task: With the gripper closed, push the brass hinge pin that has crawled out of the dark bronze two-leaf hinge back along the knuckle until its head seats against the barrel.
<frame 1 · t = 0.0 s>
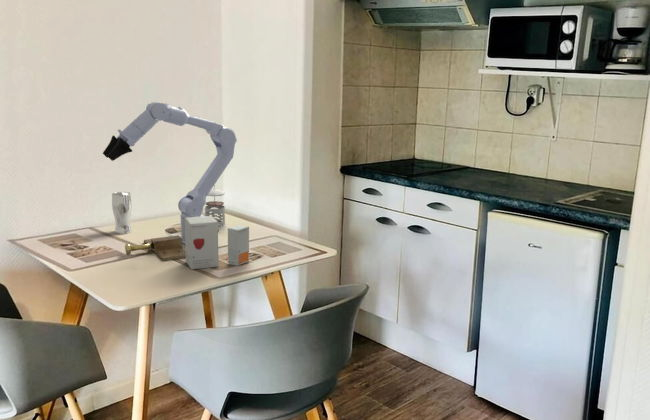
hand: (107, 157, 196), 32 cm above the table, tool tilted 50°, fingers open, 7 cm apart
french press: (213, 227, 237), on the table
hinge: (166, 249, 206), on the table
beer glass: (123, 232, 227), on the table
skincare box: (238, 263, 193), on the table
supplement box: (202, 264, 191), on the table
pin: (142, 247, 201), point 2 cm above the table, slide at 7.0 cm
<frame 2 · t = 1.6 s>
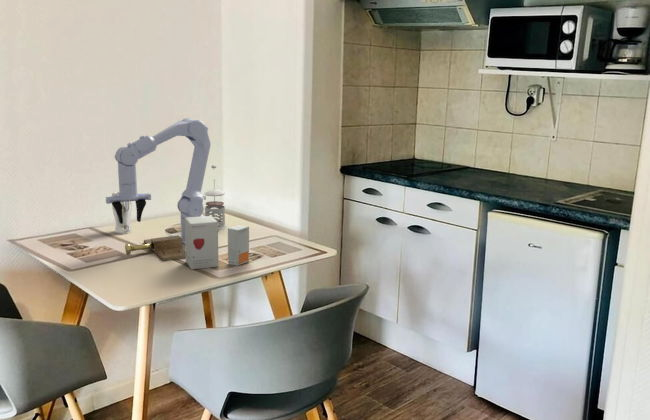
hand: (130, 222, 202), 10 cm above the table, tool pointing down, fingers open, 5 cm apart
nothing on the table moved.
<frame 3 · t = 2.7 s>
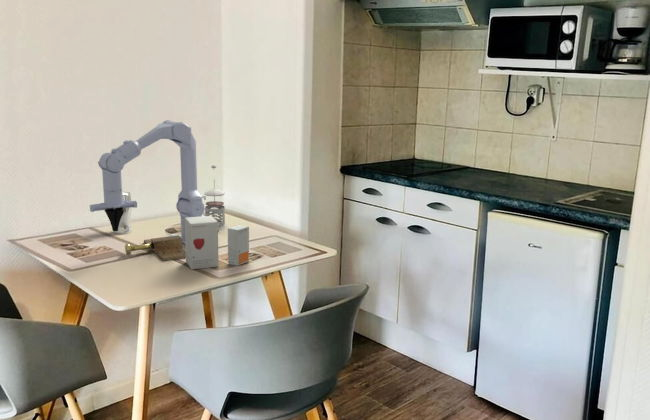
hand: (115, 230, 195), 9 cm above the table, tool pointing down, fingers closed
nothing on the table moved.
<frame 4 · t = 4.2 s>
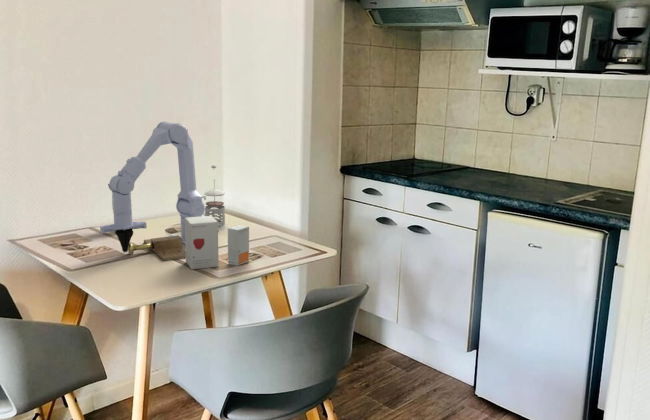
hand: (125, 251, 198), 1 cm above the table, tool pointing down, fingers closed
pin: (144, 246, 202), point 2 cm above the table, slide at 6.1 cm, touching gripper
everything else where it was.
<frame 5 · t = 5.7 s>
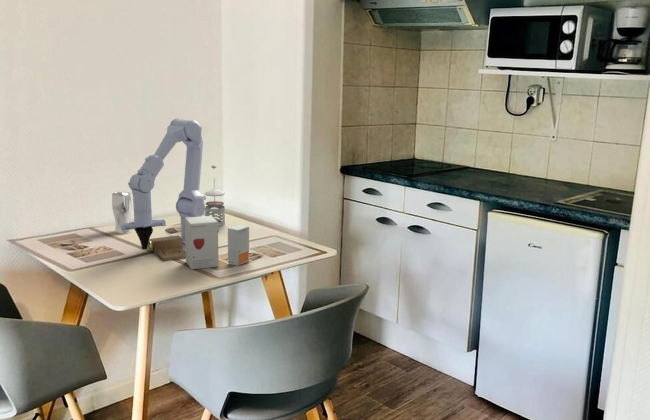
hand: (144, 248, 202), 1 cm above the table, tool pointing down, fingers closed
pin: (163, 244, 205), point 2 cm above the table, slide at -0.3 cm, touching gripper
everything else where it was.
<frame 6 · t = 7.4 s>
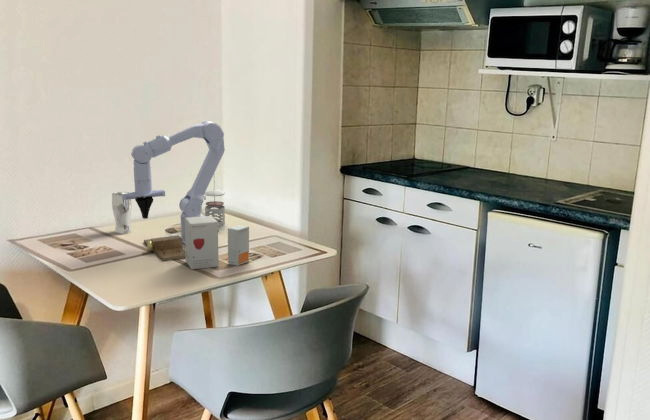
hand: (145, 218, 209), 10 cm above the table, tool pointing down, fingers closed
pin: (163, 244, 205), point 2 cm above the table, slide at -0.3 cm
everything else where it was.
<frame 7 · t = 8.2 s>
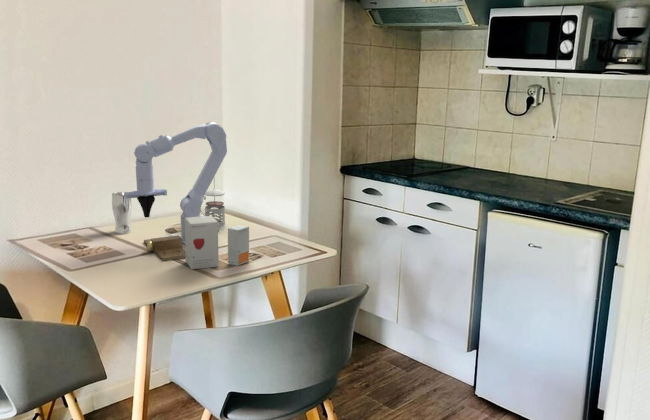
hand: (146, 216, 210), 10 cm above the table, tool pointing down, fingers closed
nothing on the table moved.
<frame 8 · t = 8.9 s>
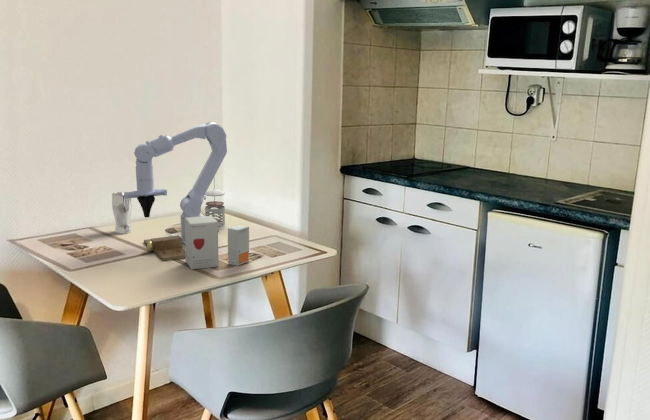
hand: (146, 216, 210), 10 cm above the table, tool pointing down, fingers closed
nothing on the table moved.
at the end: pin slide at -0.3 cm; pin 0.2 cm from the target spot, resting in hinge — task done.
